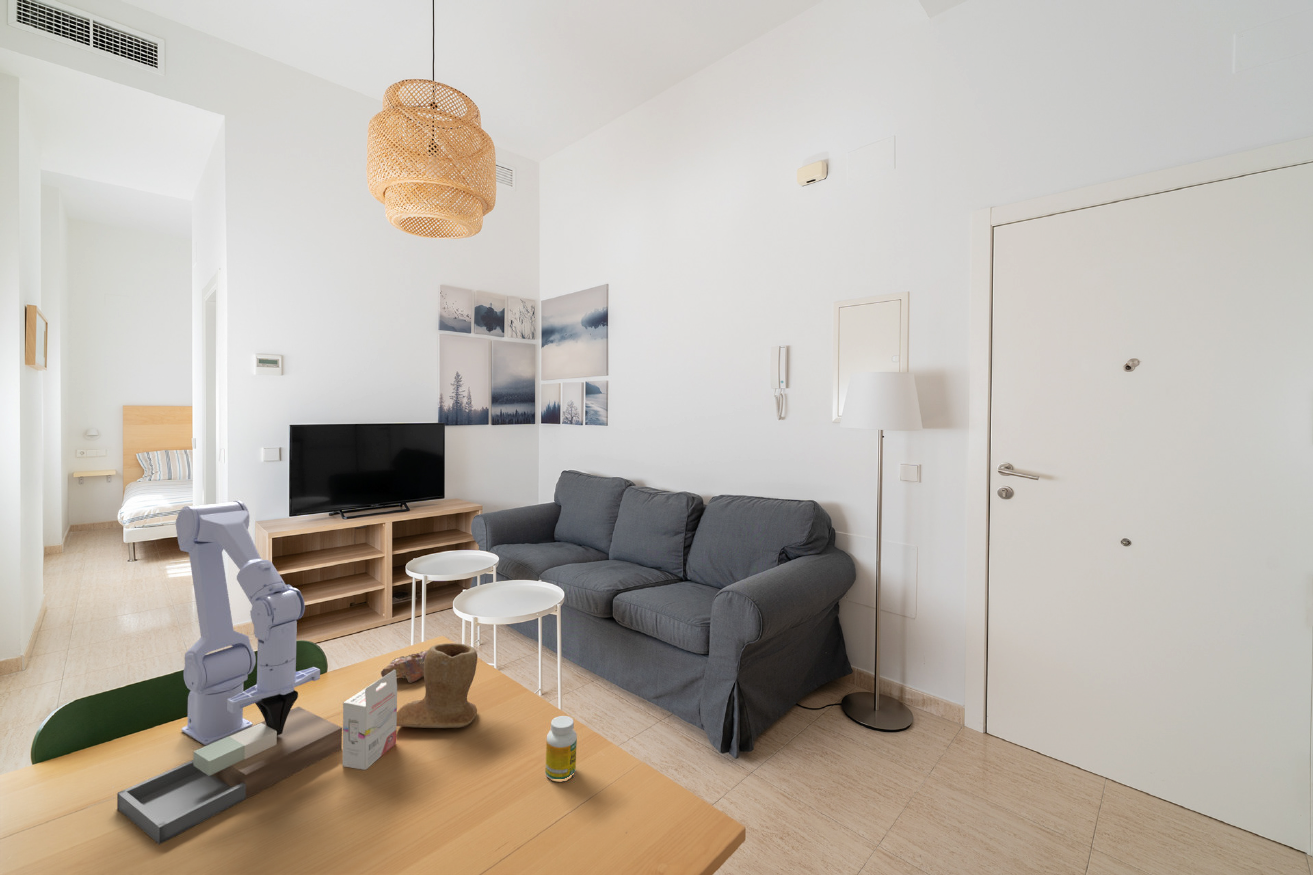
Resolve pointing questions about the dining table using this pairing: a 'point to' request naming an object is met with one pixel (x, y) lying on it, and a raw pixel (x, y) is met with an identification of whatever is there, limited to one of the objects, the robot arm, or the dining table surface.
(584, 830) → the dining table surface
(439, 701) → the brown hollow boot figurine
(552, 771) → the supplement bottle
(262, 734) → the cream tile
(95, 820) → the dining table surface
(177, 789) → the tray
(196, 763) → the sage tile
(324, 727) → the walnut board
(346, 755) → the ink cartridge box
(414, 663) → the mineral specimen
